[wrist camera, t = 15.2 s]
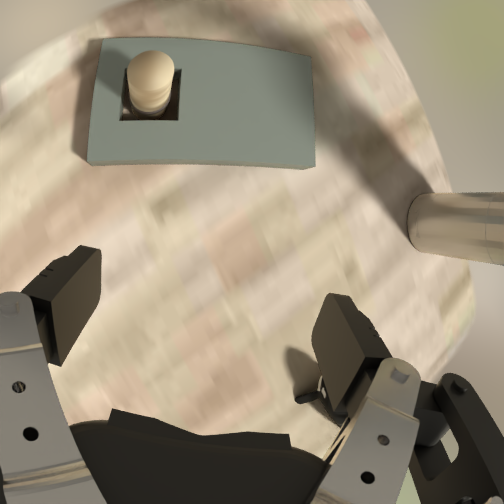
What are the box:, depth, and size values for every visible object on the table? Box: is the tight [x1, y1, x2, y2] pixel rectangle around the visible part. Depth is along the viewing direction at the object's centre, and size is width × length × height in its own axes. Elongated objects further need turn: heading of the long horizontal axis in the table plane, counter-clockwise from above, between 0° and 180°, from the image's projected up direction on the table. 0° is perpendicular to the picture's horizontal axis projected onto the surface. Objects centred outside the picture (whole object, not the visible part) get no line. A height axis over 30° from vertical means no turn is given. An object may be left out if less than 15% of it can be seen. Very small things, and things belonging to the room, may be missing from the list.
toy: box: [295, 375, 349, 427], centre depth 40 cm, size 21×10×10 cm, turn 29°
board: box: [87, 38, 316, 170], centre depth 31 cm, size 24×14×3 cm, turn 90°
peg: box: [127, 50, 174, 120], centre depth 27 cm, size 4×4×9 cm
